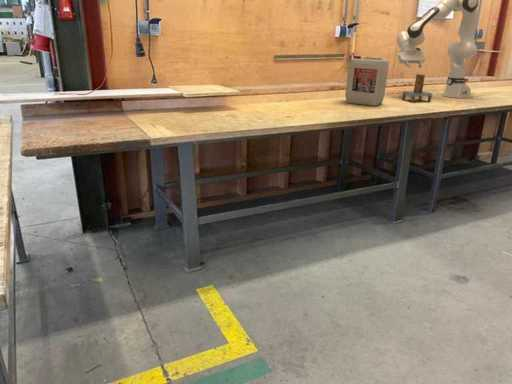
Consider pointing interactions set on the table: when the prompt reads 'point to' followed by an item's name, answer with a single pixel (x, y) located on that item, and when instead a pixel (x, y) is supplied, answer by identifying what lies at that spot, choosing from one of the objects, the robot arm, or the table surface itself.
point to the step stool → (417, 95)
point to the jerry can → (366, 80)
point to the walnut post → (419, 83)
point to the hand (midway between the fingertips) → (414, 67)
